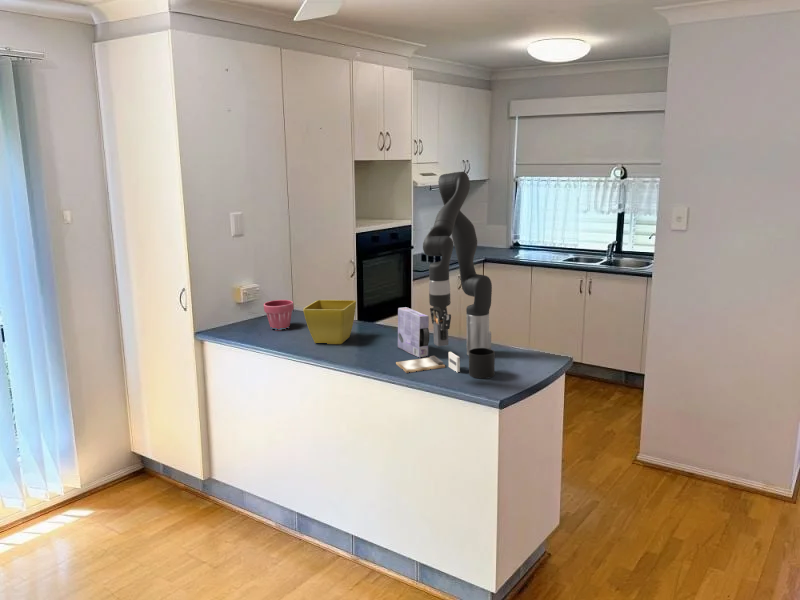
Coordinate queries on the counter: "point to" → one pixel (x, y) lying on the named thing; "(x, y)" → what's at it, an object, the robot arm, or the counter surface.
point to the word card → (454, 362)
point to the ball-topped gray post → (438, 334)
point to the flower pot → (330, 320)
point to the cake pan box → (413, 332)
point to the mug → (481, 363)
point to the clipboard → (421, 364)
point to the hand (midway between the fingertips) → (441, 338)
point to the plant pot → (279, 313)
